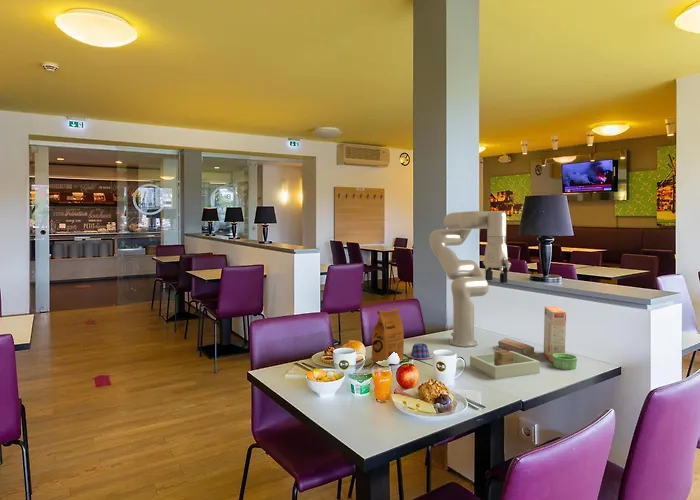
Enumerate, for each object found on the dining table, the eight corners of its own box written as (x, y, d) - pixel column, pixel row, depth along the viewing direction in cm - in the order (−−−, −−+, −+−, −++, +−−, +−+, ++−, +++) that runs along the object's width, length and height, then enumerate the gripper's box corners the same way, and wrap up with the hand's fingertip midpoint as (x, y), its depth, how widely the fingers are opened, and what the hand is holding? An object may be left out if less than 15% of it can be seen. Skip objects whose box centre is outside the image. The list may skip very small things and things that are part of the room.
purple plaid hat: (430, 352, 209) (430, 340, 209) (437, 360, 197) (437, 347, 197) (403, 353, 208) (403, 341, 208) (409, 361, 196) (409, 348, 196)
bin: (470, 366, 187) (470, 355, 186) (511, 361, 193) (511, 350, 193) (495, 379, 172) (495, 367, 171) (539, 373, 178) (539, 361, 178)
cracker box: (565, 363, 191) (566, 312, 190) (550, 362, 192) (550, 311, 191) (557, 353, 205) (558, 306, 203) (543, 353, 206) (543, 305, 205)
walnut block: (494, 366, 184) (494, 351, 184) (504, 364, 186) (505, 349, 186) (502, 369, 179) (502, 354, 179) (513, 368, 181) (513, 353, 181)
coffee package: (368, 362, 193) (367, 309, 192) (390, 357, 201) (390, 306, 200) (384, 368, 186) (384, 313, 184) (407, 362, 193) (407, 309, 192)
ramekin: (582, 368, 185) (582, 357, 184) (567, 371, 180) (568, 360, 180) (561, 362, 192) (561, 351, 192) (547, 365, 188) (547, 355, 188)
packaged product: (538, 345, 201) (519, 348, 198) (538, 357, 202) (519, 359, 198) (510, 336, 218) (492, 338, 215) (510, 346, 219) (492, 348, 215)
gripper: (476, 240, 204) (476, 279, 205) (502, 241, 188) (501, 284, 189) (491, 240, 207) (490, 278, 208) (517, 241, 191) (517, 283, 192)
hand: (496, 281), depth 198 cm, fingers open, 9 cm apart
